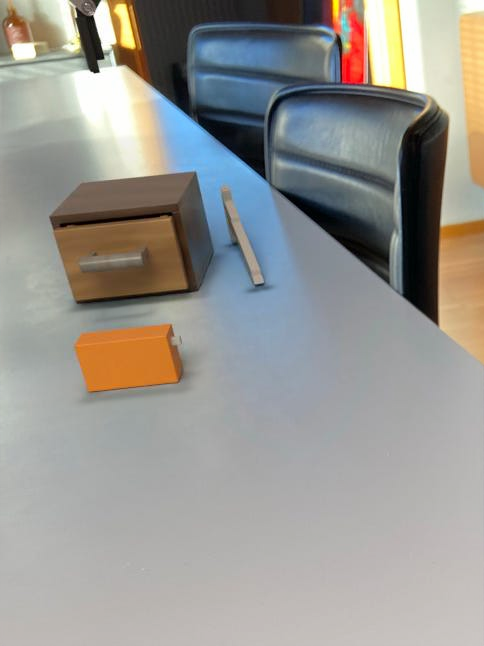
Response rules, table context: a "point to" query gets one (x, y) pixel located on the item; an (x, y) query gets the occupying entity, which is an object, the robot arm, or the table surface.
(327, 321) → the table surface
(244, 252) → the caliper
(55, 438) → the table surface
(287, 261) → the table surface
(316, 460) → the table surface
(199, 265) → the cabinet
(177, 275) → the drawer
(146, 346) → the orange brick with nub
